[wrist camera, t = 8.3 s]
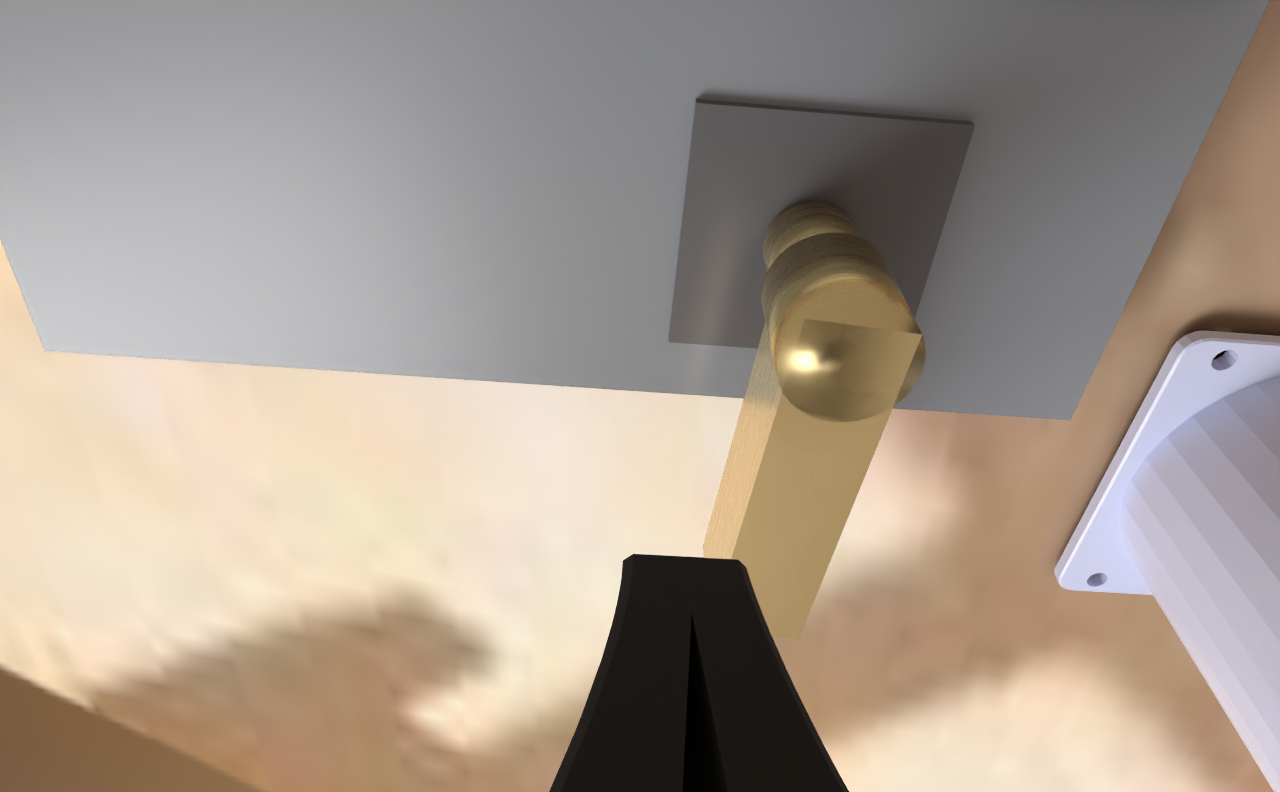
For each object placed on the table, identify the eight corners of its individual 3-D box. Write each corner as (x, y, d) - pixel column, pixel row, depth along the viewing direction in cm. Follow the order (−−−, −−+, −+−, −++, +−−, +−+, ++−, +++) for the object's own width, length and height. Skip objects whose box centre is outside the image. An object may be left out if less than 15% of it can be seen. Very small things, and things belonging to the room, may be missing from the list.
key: (766, 181, 14) (797, 289, 11) (885, 198, 14) (947, 310, 11) (689, 489, 18) (697, 629, 15) (783, 500, 18) (809, 640, 15)
